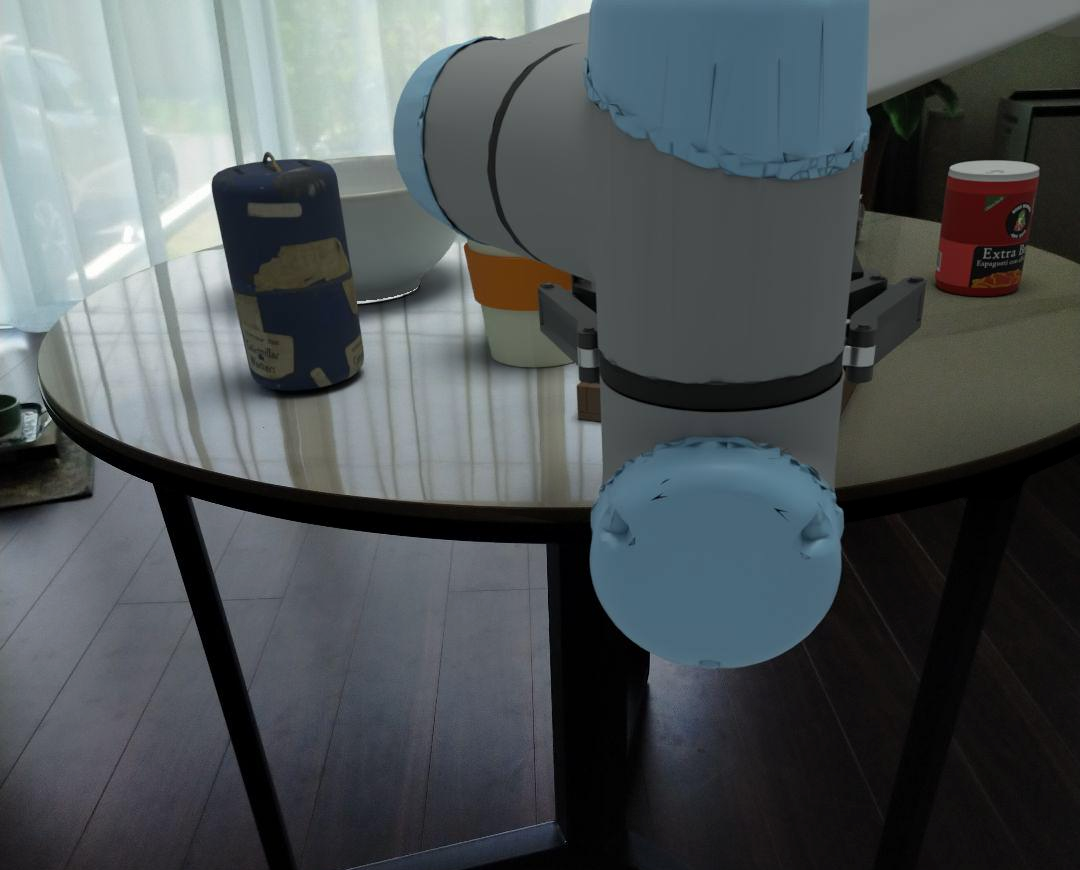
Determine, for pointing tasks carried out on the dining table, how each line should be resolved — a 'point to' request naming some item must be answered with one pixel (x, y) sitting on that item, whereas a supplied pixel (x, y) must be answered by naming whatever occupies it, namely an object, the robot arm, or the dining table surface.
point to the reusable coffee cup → (514, 304)
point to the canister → (290, 271)
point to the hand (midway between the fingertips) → (726, 269)
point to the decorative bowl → (386, 228)
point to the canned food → (985, 227)
